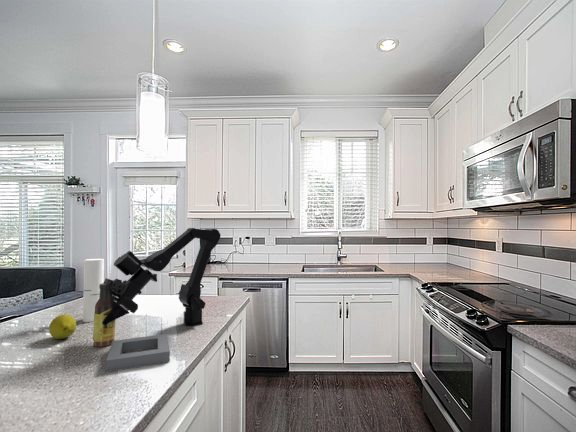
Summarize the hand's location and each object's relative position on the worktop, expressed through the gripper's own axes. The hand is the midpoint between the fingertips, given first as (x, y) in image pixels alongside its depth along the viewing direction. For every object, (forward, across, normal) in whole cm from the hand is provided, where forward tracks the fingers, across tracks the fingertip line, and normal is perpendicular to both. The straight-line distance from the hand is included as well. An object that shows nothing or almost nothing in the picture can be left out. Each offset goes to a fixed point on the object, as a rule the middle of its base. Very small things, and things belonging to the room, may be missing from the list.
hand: (100, 322), depth 103 cm
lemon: (+11, -16, 0) cm, 20 cm away
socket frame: (+1, +18, +10) cm, 20 cm away
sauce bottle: (+4, 0, +6) cm, 8 cm away
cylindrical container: (+1, -35, +10) cm, 36 cm away
